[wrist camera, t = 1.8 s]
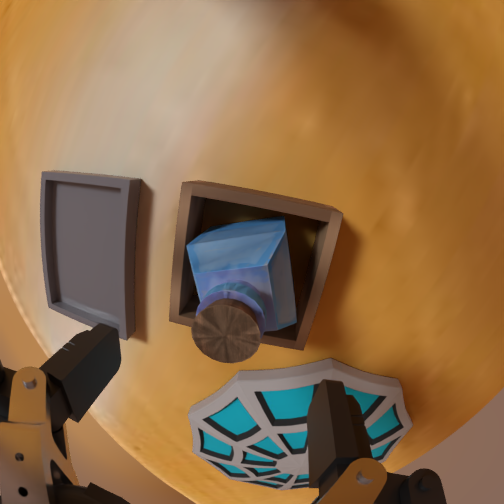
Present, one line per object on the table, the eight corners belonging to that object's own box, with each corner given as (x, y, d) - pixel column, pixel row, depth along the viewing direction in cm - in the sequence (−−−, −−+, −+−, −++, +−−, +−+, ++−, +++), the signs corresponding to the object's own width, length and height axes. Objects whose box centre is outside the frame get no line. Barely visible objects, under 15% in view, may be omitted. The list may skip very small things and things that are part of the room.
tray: (54, 170, 23) (41, 171, 21) (141, 178, 22) (129, 179, 20) (58, 300, 28) (48, 307, 26) (135, 330, 27) (126, 340, 25)
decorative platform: (148, 396, 31) (133, 421, 26) (370, 308, 24) (386, 336, 19) (262, 489, 36) (260, 509, 32) (416, 442, 30) (424, 464, 25)
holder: (198, 180, 22) (182, 182, 18) (332, 206, 21) (343, 213, 17) (184, 300, 25) (169, 321, 21) (300, 325, 25) (303, 350, 21)
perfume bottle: (210, 226, 23) (144, 279, 11) (284, 215, 22) (286, 262, 11) (224, 293, 25) (182, 385, 13) (293, 286, 24) (300, 381, 12)
